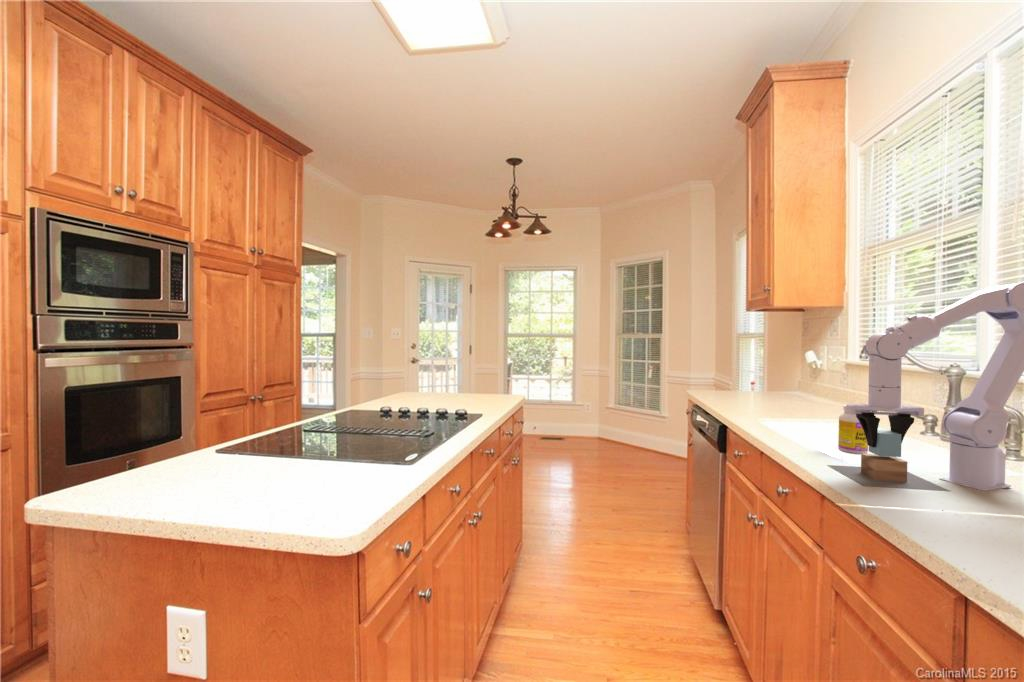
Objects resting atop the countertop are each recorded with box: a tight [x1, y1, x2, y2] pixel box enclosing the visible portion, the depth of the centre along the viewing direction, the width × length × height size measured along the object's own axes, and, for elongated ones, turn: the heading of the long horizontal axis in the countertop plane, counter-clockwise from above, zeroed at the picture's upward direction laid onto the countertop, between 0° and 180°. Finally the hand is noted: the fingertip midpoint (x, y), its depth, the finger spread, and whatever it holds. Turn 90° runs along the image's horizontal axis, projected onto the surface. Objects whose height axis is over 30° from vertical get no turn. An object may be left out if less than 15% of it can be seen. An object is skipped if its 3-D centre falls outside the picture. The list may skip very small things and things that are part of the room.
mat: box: [826, 464, 951, 492], centre depth 104 cm, size 16×16×1 cm
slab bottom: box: [860, 462, 908, 482], centre depth 104 cm, size 6×6×2 cm
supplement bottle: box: [837, 404, 869, 456], centre depth 128 cm, size 7×7×13 cm
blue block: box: [868, 429, 902, 458], centre depth 104 cm, size 4×4×5 cm
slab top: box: [860, 453, 908, 472], centre depth 104 cm, size 6×6×2 cm
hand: (883, 446), depth 104 cm, fingers closed on blue block, 4 cm apart
